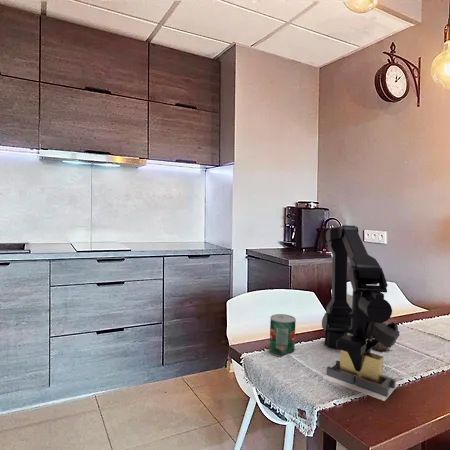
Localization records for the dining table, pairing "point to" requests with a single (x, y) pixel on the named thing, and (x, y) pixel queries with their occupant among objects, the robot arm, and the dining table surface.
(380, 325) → the robot arm
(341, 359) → the tan block
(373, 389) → the gray two-section tray
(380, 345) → the brown egg-shaped piece
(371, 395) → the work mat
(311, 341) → the dining table surface
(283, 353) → the canned tomato
